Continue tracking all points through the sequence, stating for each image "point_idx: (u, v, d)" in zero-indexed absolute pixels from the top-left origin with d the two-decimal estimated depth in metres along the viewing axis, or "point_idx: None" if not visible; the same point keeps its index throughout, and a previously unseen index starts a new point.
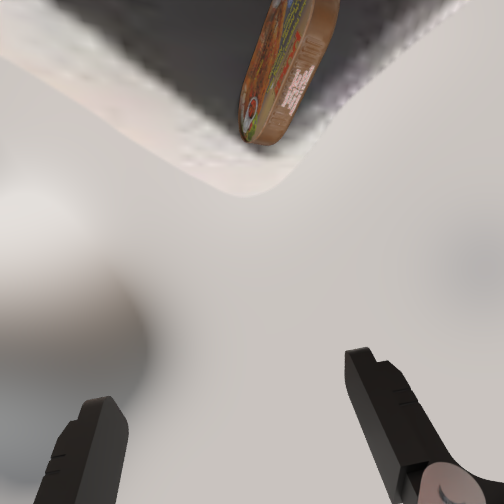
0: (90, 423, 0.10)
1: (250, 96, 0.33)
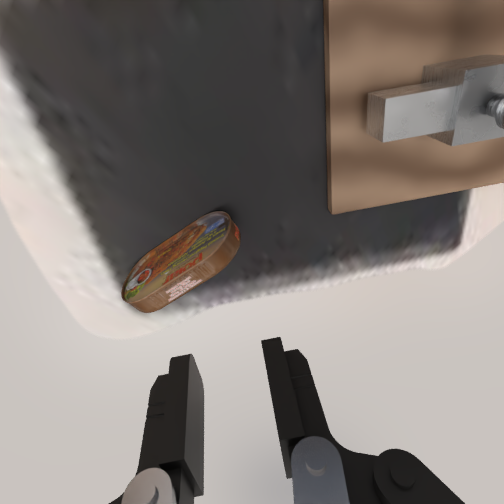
0: (182, 375, 0.11)
1: (148, 265, 0.39)
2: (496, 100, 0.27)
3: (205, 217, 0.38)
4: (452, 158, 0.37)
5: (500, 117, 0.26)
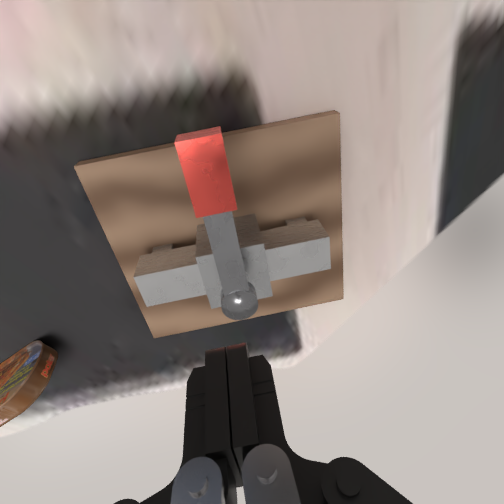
0: (219, 367, 0.11)
1: None
2: None
3: (33, 344, 0.41)
4: None
5: None
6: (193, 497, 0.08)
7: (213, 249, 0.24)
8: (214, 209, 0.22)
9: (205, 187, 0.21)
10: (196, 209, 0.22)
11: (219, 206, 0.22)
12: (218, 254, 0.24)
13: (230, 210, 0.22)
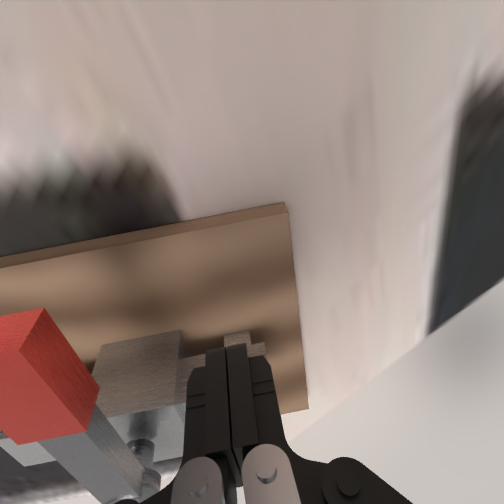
0: (219, 367, 0.11)
1: None
2: None
3: None
4: None
5: None
6: (193, 497, 0.08)
7: (66, 466, 0.15)
8: (46, 434, 0.13)
9: (18, 413, 0.12)
10: (13, 436, 0.13)
11: (52, 430, 0.13)
12: (76, 470, 0.15)
13: (76, 431, 0.13)
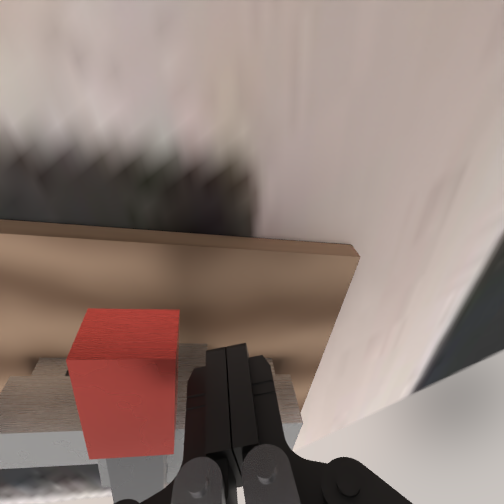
0: (219, 367, 0.11)
1: None
2: None
3: None
4: None
5: None
6: (193, 497, 0.08)
7: (114, 487, 0.13)
8: (129, 451, 0.11)
9: (119, 424, 0.10)
10: (92, 449, 0.11)
11: (139, 448, 0.11)
12: (122, 493, 0.13)
13: (160, 452, 0.12)
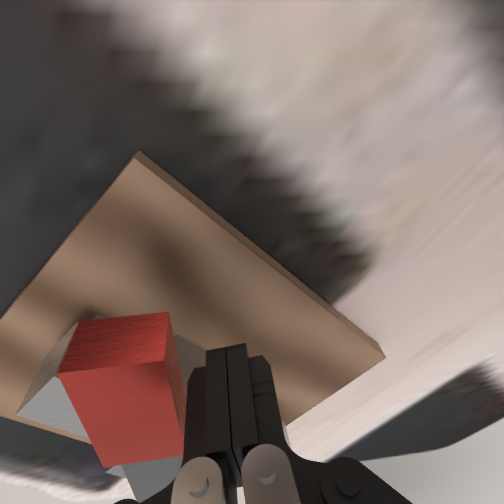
0: (219, 367, 0.11)
1: None
2: None
3: None
4: None
5: None
6: (193, 497, 0.08)
7: (136, 492, 0.13)
8: (141, 456, 0.11)
9: (124, 431, 0.11)
10: (104, 457, 0.11)
11: (150, 452, 0.11)
12: (145, 497, 0.14)
13: (172, 454, 0.12)
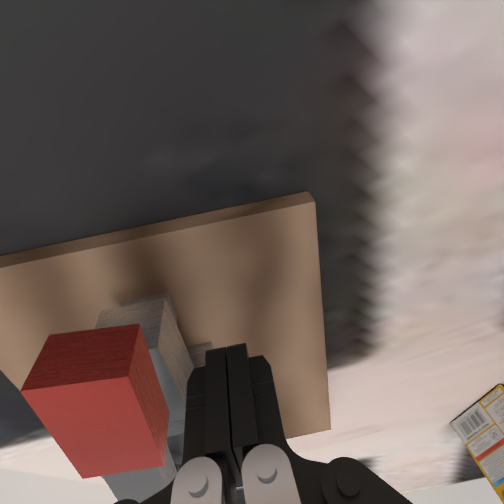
0: (219, 367, 0.11)
1: None
2: None
3: None
4: None
5: None
6: (193, 497, 0.08)
7: None
8: (118, 467, 0.11)
9: (98, 444, 0.10)
10: (82, 469, 0.11)
11: (127, 464, 0.11)
12: None
13: (151, 465, 0.12)
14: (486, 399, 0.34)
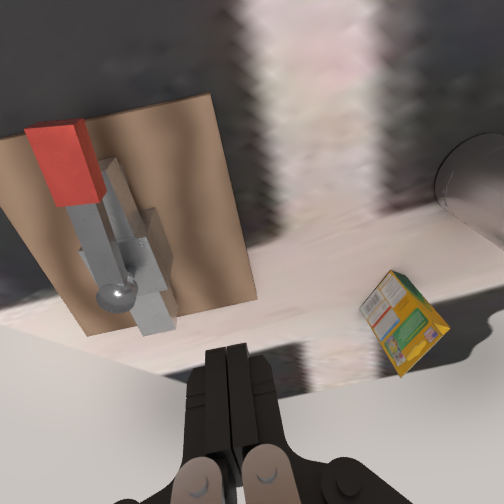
0: (219, 367, 0.11)
1: None
2: None
3: None
4: (81, 264, 0.36)
5: None
6: (193, 497, 0.08)
7: (80, 240, 0.24)
8: (75, 200, 0.22)
9: (62, 177, 0.21)
10: (55, 198, 0.22)
11: (79, 197, 0.22)
12: (86, 245, 0.24)
13: (93, 202, 0.22)
14: (381, 284, 0.44)
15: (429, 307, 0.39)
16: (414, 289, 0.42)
